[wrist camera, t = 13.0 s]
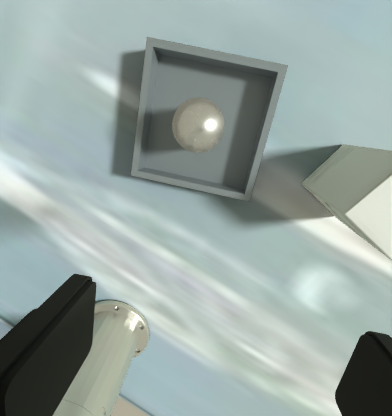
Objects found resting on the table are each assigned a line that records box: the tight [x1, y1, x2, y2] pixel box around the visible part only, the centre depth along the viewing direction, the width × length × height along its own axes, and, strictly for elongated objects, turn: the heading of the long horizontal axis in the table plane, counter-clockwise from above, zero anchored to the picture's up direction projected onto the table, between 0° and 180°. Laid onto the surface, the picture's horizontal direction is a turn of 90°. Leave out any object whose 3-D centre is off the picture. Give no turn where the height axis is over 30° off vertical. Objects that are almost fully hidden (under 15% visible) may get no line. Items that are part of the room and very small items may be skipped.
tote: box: [131, 37, 288, 201], centre depth 31 cm, size 16×16×4 cm
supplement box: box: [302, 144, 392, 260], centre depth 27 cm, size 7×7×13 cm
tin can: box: [172, 97, 224, 153], centre depth 28 cm, size 5×5×8 cm
